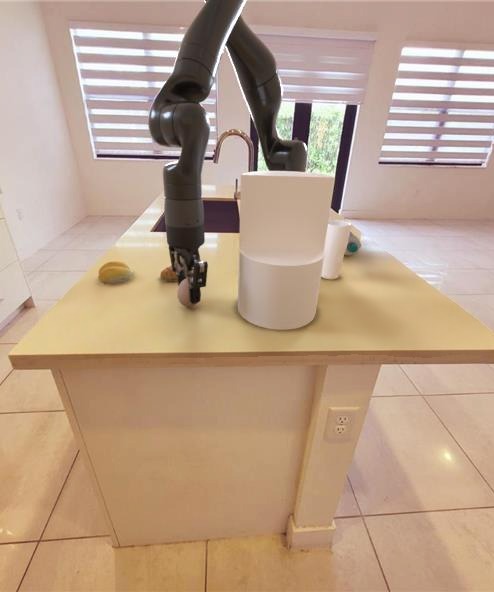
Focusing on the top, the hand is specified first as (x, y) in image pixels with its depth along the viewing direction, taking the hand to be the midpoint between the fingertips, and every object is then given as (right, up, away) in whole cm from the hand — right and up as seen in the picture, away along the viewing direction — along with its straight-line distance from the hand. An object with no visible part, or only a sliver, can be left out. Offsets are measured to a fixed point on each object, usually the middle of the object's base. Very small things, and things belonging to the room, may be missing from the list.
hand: (189, 296), depth 69 cm
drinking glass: (+36, +5, +18) cm, 40 cm away
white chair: (+19, -3, +1) cm, 20 cm away
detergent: (+46, +17, +40) cm, 64 cm away
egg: (0, -2, +1) cm, 3 cm away
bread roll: (-22, +5, +14) cm, 26 cm away
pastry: (-5, +5, +15) cm, 17 cm away
